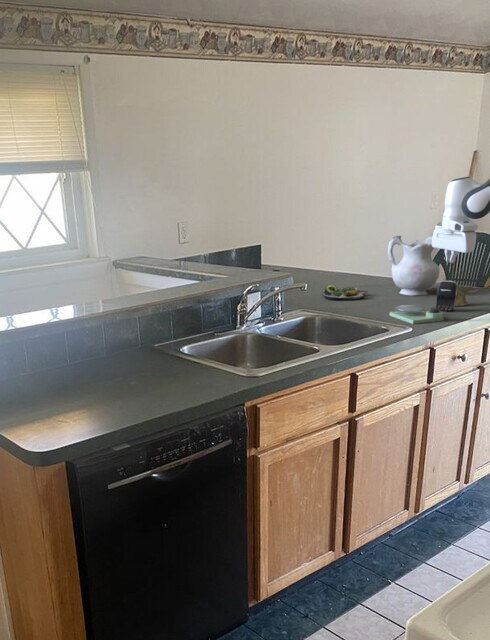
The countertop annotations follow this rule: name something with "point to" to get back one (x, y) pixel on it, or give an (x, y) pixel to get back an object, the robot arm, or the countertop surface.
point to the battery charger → (446, 296)
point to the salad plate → (342, 293)
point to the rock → (459, 297)
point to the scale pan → (409, 308)
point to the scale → (418, 316)
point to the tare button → (434, 310)
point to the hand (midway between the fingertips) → (450, 262)
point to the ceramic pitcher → (413, 266)
